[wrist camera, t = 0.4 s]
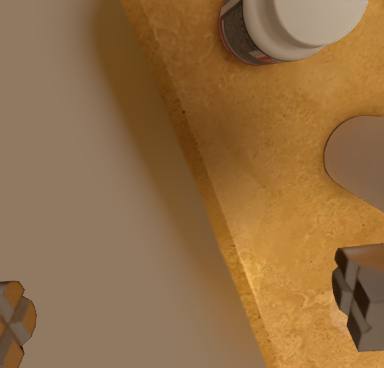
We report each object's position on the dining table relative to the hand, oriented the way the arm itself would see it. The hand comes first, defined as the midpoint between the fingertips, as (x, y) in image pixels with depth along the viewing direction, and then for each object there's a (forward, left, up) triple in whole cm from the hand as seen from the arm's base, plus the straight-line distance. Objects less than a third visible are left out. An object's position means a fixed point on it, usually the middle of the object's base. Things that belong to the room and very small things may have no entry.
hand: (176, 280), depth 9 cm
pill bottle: (+4, +11, -19) cm, 22 cm away
